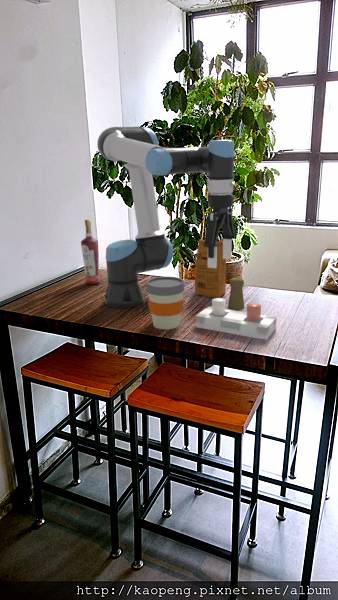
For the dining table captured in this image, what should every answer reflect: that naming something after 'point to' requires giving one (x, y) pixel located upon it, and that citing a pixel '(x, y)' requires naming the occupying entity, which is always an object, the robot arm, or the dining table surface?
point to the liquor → (90, 256)
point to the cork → (236, 294)
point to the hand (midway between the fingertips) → (219, 263)
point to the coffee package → (210, 272)
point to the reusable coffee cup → (165, 301)
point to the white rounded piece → (218, 306)
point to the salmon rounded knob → (253, 312)
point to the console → (236, 323)
